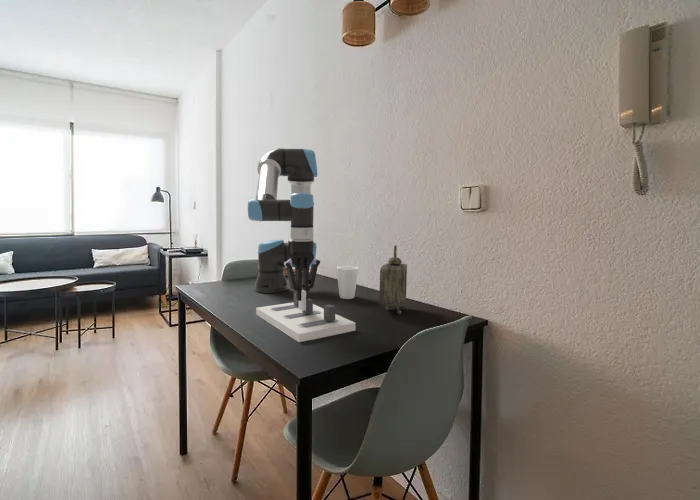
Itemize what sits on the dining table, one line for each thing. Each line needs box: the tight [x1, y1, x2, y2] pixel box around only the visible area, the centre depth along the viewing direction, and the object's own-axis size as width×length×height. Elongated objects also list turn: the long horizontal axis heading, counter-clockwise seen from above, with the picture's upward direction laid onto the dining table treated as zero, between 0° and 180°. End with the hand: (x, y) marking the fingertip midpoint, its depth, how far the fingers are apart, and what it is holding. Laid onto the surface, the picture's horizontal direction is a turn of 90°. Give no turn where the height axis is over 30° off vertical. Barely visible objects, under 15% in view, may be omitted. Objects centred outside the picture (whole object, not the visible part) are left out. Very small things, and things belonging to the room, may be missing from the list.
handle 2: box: [323, 304, 336, 321], centre depth 122 cm, size 3×2×4 cm
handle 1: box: [293, 291, 299, 306], centre depth 140 cm, size 3×2×4 cm
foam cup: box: [336, 265, 359, 300], centre depth 165 cm, size 10×9×13 cm
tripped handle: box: [302, 297, 314, 314], centre depth 130 cm, size 3×2×4 cm
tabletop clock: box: [379, 244, 408, 315], centre depth 144 cm, size 14×9×25 cm, turn 168°
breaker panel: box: [255, 301, 356, 343], centre depth 129 cm, size 34×20×3 cm, turn 34°
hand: (302, 309), depth 129 cm, fingers closed
